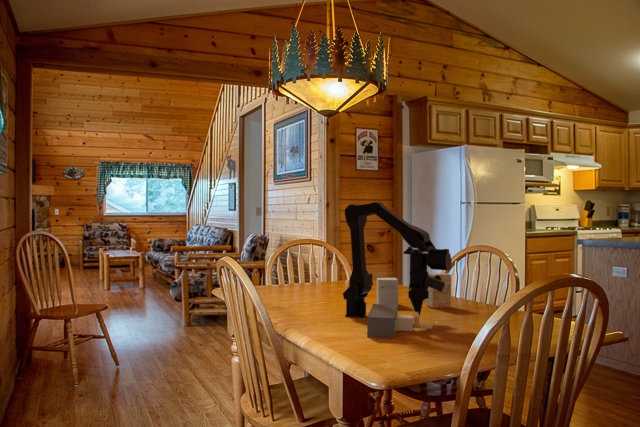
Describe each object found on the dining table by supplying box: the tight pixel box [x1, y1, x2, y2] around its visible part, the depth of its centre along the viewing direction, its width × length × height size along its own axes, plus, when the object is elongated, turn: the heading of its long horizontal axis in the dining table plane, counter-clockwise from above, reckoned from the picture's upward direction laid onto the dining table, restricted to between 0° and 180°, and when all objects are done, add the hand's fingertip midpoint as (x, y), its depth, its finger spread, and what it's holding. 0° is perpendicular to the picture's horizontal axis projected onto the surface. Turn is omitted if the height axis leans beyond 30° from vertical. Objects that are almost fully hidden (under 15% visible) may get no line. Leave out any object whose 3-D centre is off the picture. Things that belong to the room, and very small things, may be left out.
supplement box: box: [426, 272, 452, 309], centre depth 187 cm, size 8×5×13 cm, turn 105°
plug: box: [396, 314, 434, 332], centre depth 149 cm, size 11×4×4 cm, turn 79°
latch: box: [413, 311, 420, 326], centre depth 149 cm, size 2×8×3 cm, turn 169°
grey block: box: [366, 303, 399, 339], centre depth 151 cm, size 8×20×6 cm, turn 169°
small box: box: [376, 277, 399, 307], centre depth 190 cm, size 8×6×10 cm
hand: (418, 315), depth 158 cm, fingers closed
